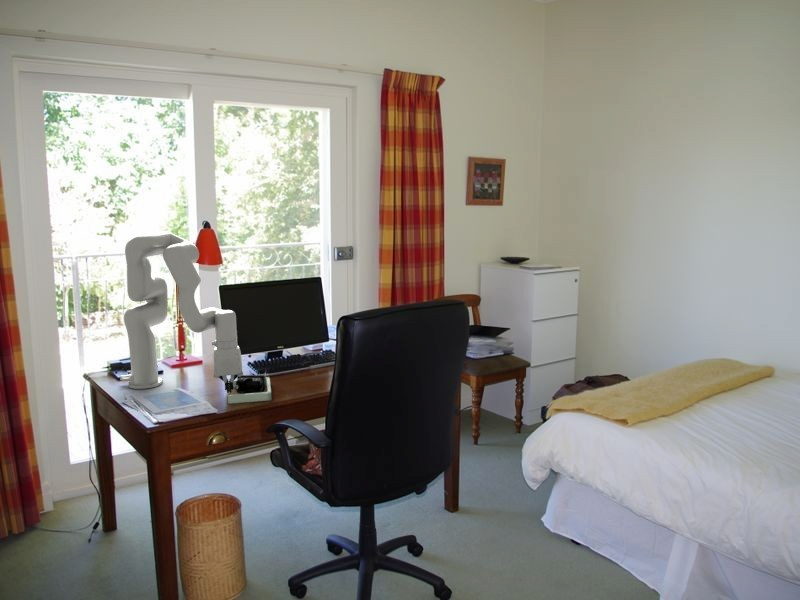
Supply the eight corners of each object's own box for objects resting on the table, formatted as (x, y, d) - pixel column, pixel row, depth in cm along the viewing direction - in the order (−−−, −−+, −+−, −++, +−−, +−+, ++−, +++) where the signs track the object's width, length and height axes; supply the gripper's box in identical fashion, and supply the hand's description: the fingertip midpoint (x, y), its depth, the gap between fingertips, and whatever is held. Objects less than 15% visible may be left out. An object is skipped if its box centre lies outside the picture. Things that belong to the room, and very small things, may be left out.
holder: (228, 403, 234) (227, 396, 233) (229, 386, 252) (229, 380, 251) (271, 400, 237) (271, 392, 237) (269, 383, 255) (269, 377, 254)
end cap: (266, 390, 248) (265, 373, 247) (262, 396, 241) (261, 379, 240) (240, 390, 248) (239, 373, 247) (235, 396, 241) (234, 379, 240)
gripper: (204, 347, 234) (207, 396, 237) (247, 345, 237) (249, 393, 241) (206, 342, 241) (209, 389, 245) (247, 340, 244) (249, 387, 248)
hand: (229, 391), depth 243 cm, fingers closed
